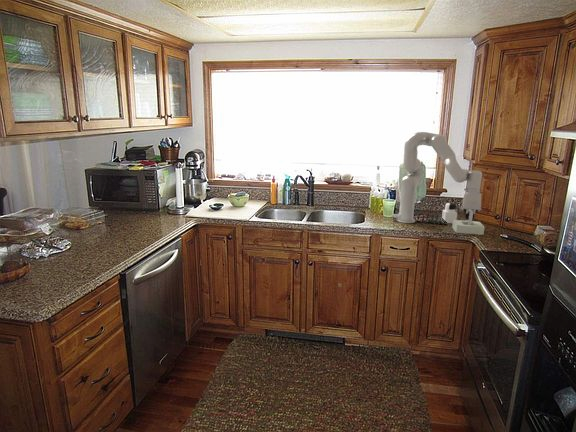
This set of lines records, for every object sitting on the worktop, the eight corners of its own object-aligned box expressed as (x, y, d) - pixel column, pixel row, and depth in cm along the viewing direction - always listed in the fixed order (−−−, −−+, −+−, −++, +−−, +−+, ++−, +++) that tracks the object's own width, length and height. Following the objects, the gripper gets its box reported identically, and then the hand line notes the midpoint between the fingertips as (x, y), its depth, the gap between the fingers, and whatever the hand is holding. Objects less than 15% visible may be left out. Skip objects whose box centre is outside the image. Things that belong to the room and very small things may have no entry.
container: (452, 220, 277) (455, 202, 274) (456, 223, 269) (458, 205, 266) (441, 220, 278) (443, 202, 274) (444, 223, 270) (446, 204, 267)
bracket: (465, 228, 250) (467, 211, 247) (463, 225, 256) (465, 209, 253) (473, 228, 249) (475, 211, 246) (471, 226, 255) (473, 209, 252)
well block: (456, 232, 248) (457, 225, 247) (452, 227, 261) (453, 219, 259) (483, 234, 245) (484, 227, 244) (478, 229, 258) (479, 221, 256)
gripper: (460, 191, 245) (456, 220, 249) (488, 192, 241) (484, 222, 246) (458, 189, 252) (454, 217, 256) (485, 190, 248) (481, 219, 253)
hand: (469, 219), depth 251 cm, fingers closed on bracket
